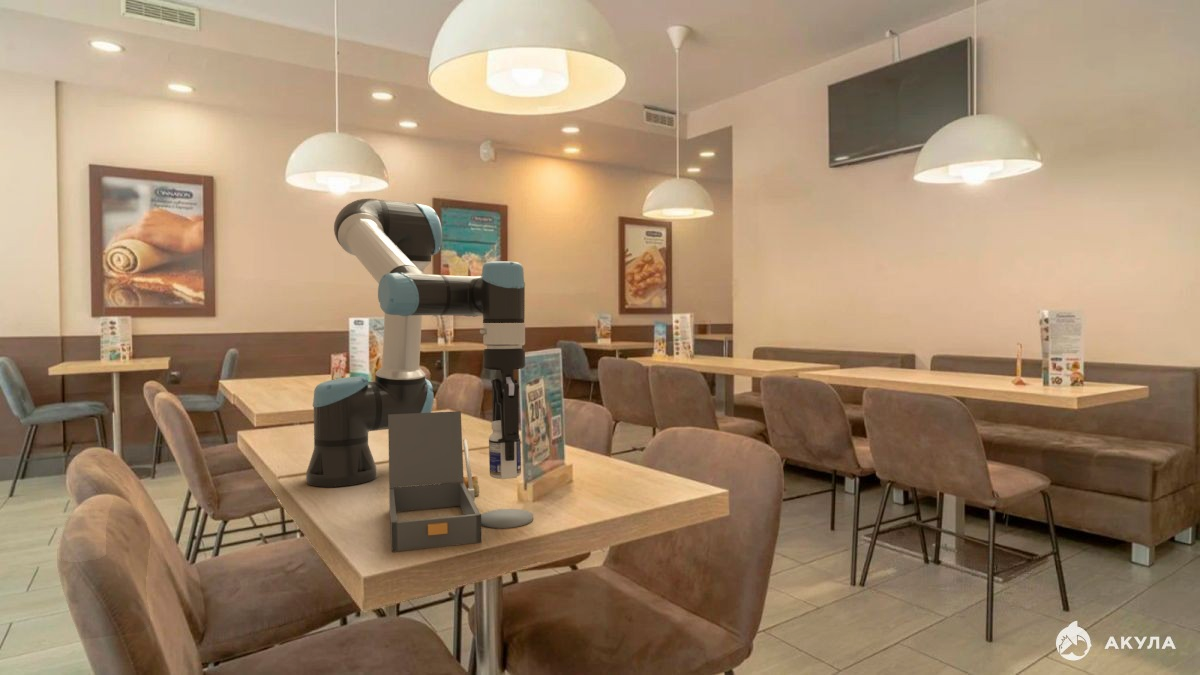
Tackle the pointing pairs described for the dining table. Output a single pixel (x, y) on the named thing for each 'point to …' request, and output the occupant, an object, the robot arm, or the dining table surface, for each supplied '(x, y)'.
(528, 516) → the pad
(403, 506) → the case
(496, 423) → the pill bottle
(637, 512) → the dining table surface
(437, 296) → the robot arm
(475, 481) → the pastry
